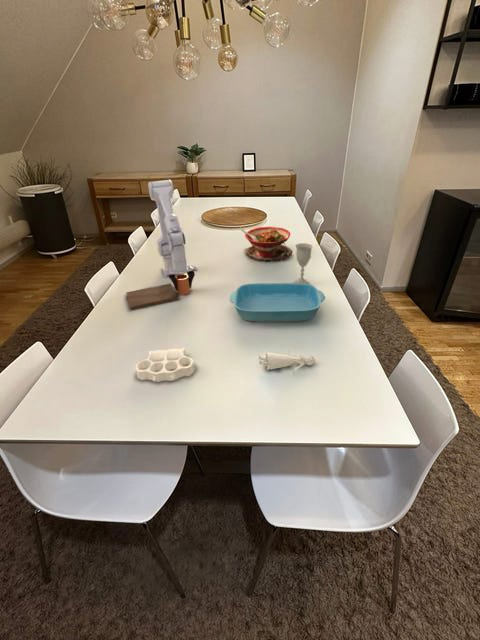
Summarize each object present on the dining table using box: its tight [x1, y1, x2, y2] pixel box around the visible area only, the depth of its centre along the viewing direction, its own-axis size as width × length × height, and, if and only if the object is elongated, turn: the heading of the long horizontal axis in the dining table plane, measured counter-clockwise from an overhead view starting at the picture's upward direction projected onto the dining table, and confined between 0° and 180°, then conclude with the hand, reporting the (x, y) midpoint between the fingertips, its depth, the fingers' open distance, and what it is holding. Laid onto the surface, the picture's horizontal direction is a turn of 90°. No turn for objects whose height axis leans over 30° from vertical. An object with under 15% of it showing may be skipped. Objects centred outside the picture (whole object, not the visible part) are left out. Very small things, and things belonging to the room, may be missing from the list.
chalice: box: [295, 242, 314, 284], centre depth 152 cm, size 7×7×18 cm
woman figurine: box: [258, 349, 316, 374], centre depth 109 cm, size 12×4×18 cm
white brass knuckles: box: [134, 347, 195, 383], centre depth 110 cm, size 3×18×15 cm
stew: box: [238, 225, 293, 263], centre depth 182 cm, size 28×24×16 cm
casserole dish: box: [229, 282, 326, 323], centre depth 136 cm, size 37×22×7 cm, turn 86°
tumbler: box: [175, 273, 191, 296], centre depth 152 cm, size 6×6×8 cm
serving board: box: [125, 282, 179, 311], centre depth 151 cm, size 14×20×2 cm
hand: (183, 288), depth 153 cm, fingers closed on tumbler, 6 cm apart
